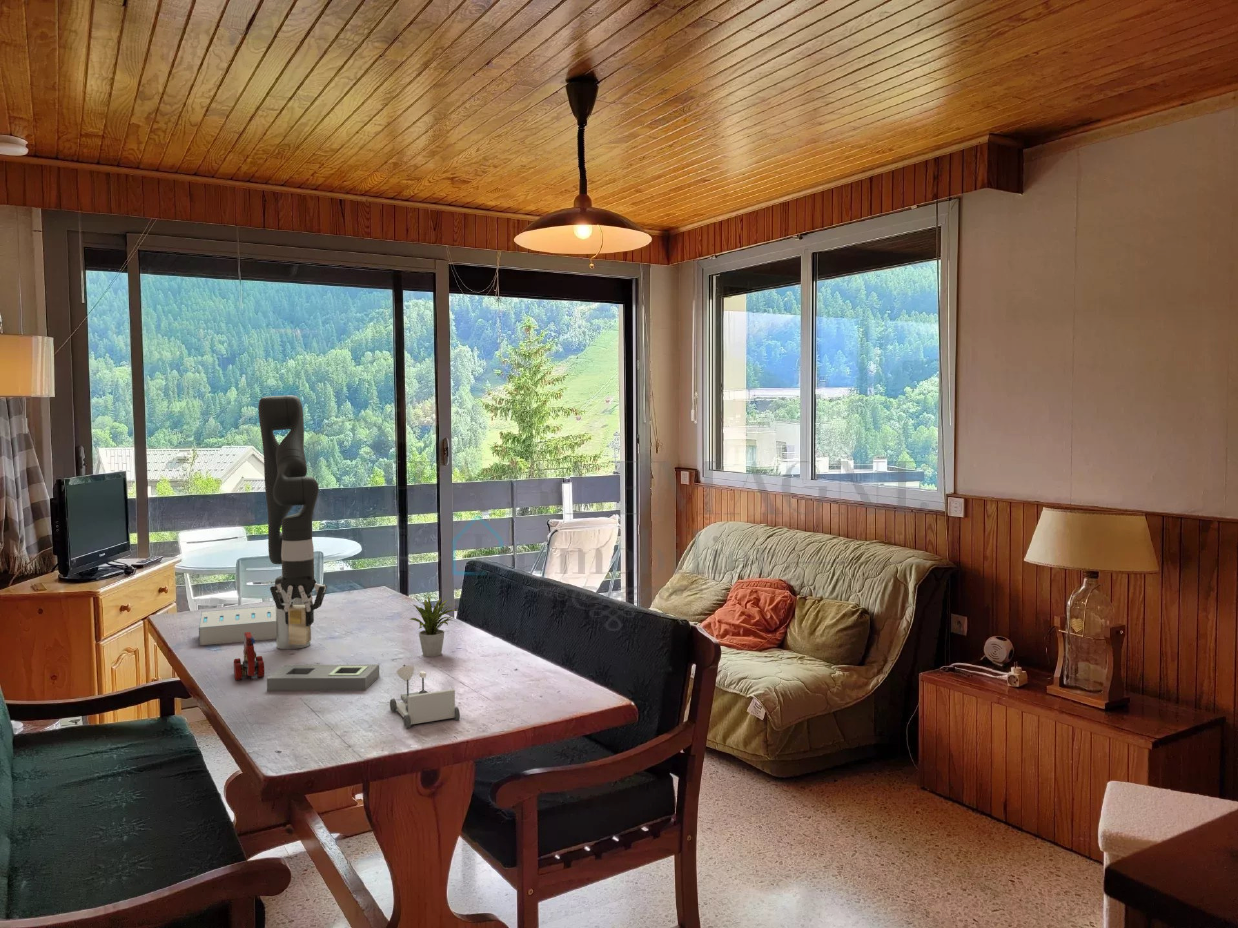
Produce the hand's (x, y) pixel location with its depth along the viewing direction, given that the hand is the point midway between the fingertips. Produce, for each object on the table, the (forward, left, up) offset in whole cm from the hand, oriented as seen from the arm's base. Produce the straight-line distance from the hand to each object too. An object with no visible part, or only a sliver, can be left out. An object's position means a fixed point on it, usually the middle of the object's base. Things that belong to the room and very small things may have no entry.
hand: (299, 625), depth 223 cm
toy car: (+23, +36, -15) cm, 45 cm away
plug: (0, 0, -4) cm, 4 cm away
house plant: (-26, +27, -15) cm, 40 cm away
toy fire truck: (-7, -16, -15) cm, 23 cm away
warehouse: (-50, -33, -15) cm, 62 cm away
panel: (0, +6, -15) cm, 16 cm away
